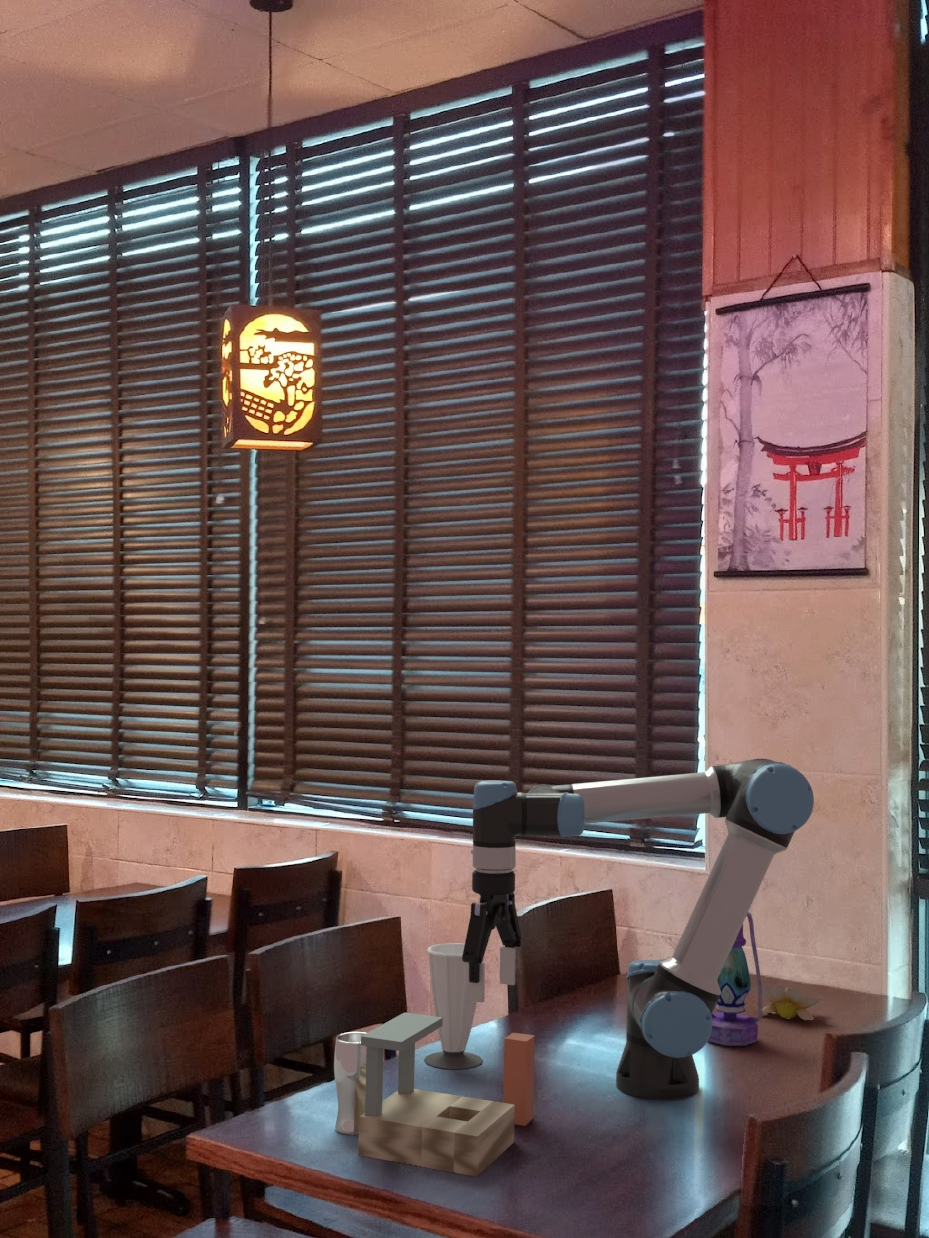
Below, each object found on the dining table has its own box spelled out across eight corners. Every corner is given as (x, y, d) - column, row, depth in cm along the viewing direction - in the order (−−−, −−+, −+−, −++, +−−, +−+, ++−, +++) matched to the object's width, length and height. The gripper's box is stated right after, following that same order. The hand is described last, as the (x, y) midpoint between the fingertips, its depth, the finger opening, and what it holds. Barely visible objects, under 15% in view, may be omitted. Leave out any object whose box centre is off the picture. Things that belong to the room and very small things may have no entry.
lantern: (692, 1043, 271) (694, 897, 272) (703, 1029, 282) (705, 888, 283) (757, 1051, 266) (758, 902, 267) (766, 1037, 277) (768, 894, 278)
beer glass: (332, 1121, 220) (335, 1031, 221) (374, 1121, 221) (376, 1031, 221) (332, 1136, 213) (334, 1043, 214) (375, 1136, 214) (377, 1043, 214)
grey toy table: (441, 1092, 218) (442, 1017, 218) (399, 1123, 203) (401, 1041, 203) (402, 1086, 220) (404, 1012, 221) (359, 1116, 206) (361, 1036, 206)
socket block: (513, 1142, 212) (514, 1104, 213) (476, 1176, 198) (477, 1136, 198) (402, 1123, 220) (402, 1086, 220) (358, 1155, 205) (359, 1116, 206)
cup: (490, 1056, 259) (492, 945, 260) (471, 1072, 248) (474, 957, 249) (435, 1049, 263) (438, 940, 264) (415, 1065, 252) (417, 952, 253)
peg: (533, 1118, 224) (534, 1035, 224) (525, 1125, 220) (526, 1041, 221) (511, 1114, 225) (512, 1032, 226) (502, 1122, 222) (504, 1038, 222)
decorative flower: (836, 1008, 295) (829, 966, 293) (820, 1031, 285) (814, 988, 284) (771, 1003, 303) (765, 962, 302) (754, 1025, 294) (748, 983, 292)
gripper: (502, 859, 242) (500, 975, 242) (443, 877, 220) (441, 1006, 219) (539, 862, 239) (538, 979, 239) (484, 881, 217) (482, 1011, 216)
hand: (492, 992), depth 229 cm, fingers open, 13 cm apart
